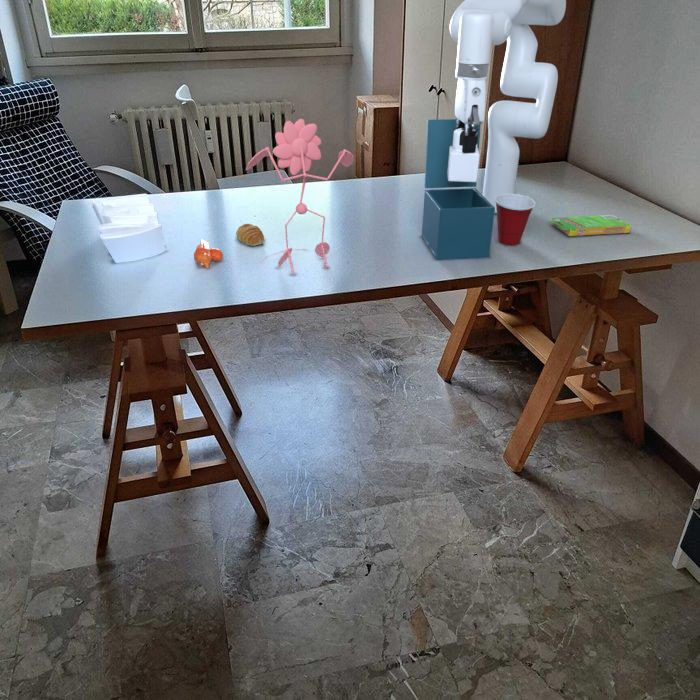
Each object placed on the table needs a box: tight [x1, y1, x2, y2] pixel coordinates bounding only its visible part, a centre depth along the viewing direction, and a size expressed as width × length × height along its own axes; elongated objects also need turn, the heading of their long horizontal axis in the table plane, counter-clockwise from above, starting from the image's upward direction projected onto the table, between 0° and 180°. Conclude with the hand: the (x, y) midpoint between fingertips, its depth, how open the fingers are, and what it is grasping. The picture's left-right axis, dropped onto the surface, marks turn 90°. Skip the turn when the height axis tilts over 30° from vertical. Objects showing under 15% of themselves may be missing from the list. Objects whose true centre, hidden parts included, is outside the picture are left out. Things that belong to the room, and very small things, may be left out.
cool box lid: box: [424, 118, 482, 189], centre depth 177 cm, size 17×14×6 cm
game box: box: [549, 214, 632, 237], centre depth 190 cm, size 3×10×20 cm
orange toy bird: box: [193, 239, 224, 269], centre depth 167 cm, size 5×8×12 cm
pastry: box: [235, 223, 265, 247], centre depth 179 cm, size 9×7×4 cm
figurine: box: [245, 118, 355, 275], centre depth 160 cm, size 15×26×35 cm, turn 118°
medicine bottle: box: [447, 128, 481, 183], centre depth 165 cm, size 7×7×12 cm
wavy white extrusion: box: [90, 193, 166, 264], centre depth 175 cm, size 35×16×11 cm, turn 20°
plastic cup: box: [495, 193, 537, 247], centre depth 178 cm, size 11×11×12 cm
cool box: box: [421, 187, 495, 261], centre depth 175 cm, size 17×14×13 cm
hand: (464, 148), depth 164 cm, fingers closed on medicine bottle, 6 cm apart
